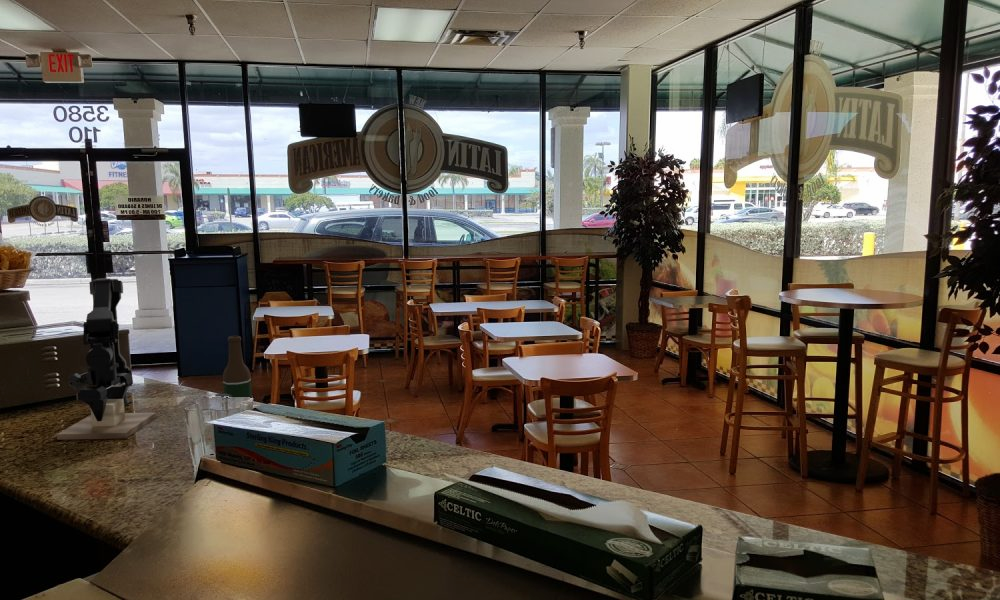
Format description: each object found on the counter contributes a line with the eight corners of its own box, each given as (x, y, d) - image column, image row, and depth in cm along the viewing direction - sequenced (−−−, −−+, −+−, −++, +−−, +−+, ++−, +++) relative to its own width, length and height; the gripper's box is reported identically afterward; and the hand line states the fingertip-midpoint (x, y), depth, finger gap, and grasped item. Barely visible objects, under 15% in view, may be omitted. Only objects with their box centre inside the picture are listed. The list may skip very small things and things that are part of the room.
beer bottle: (219, 418, 200) (214, 338, 196) (238, 410, 207) (233, 333, 203) (239, 421, 197) (235, 339, 193) (258, 413, 204) (254, 335, 201)
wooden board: (93, 418, 199) (92, 413, 199) (156, 417, 200) (155, 412, 200) (57, 439, 182) (56, 434, 181) (126, 438, 183) (126, 432, 182)
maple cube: (103, 419, 194) (101, 399, 193) (125, 419, 194) (123, 398, 193) (92, 426, 188) (90, 405, 187) (114, 426, 188) (112, 405, 187)
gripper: (91, 354, 197) (96, 406, 199) (53, 370, 179) (58, 427, 181) (131, 354, 198) (135, 406, 200) (97, 369, 179) (102, 426, 182)
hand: (108, 415), depth 191 cm, fingers open, 9 cm apart
